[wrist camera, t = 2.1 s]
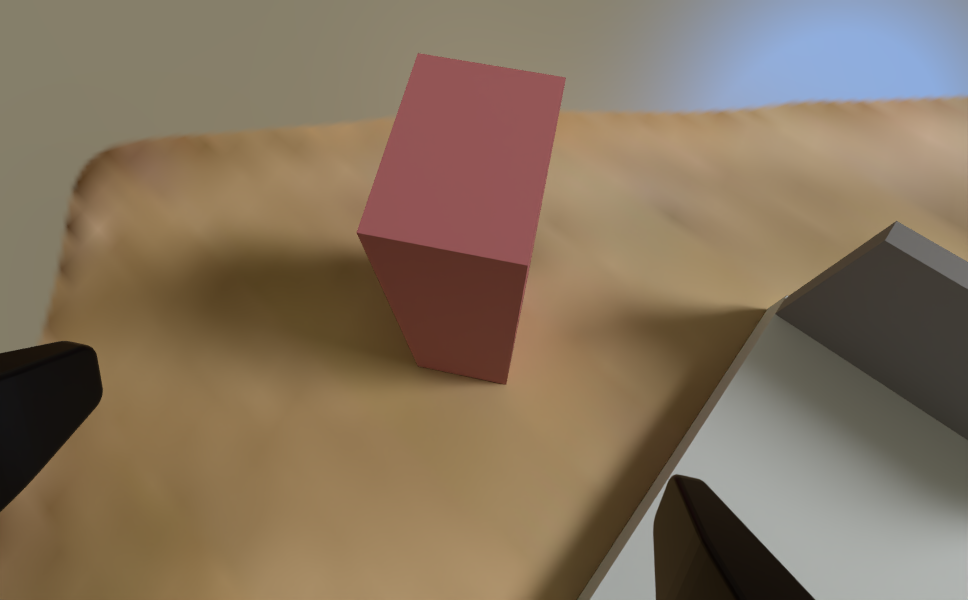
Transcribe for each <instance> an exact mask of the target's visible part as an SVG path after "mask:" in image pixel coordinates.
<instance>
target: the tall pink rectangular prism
mask: <svg viewBox="0 0 968 600" xmlns="http://www.w3.org/2000/svg"><path fill="white" fill-rule="evenodd" d="M565 79H566V78H565V77H559V76H553V75H546V74H541V73H535V72H528V71H523V70H516V69H510V68H504V67H498V66H492V65H486V64H480V63H474V62H468V61H462V60H456V59H450V58H444V57H438V56H431V55H425V54H419V53H418V54H417V58H416V60H415V64H414V67H413V69H412V72H411V75H410V78H409V81H408V84H407V87H406V90H405V93H404V95H403V99H402V102H401V104H400V107H399V110H398V113H397V116H396V119H395V122H394V125H393V128H392V131H391V134H390V136H389V139H388V142H387V145H386V148H385V151H384V154H383V157H382V160H381V163H380V166H379V169H378V172H377V175H376V177H375V180H374V183H373V186H372V189H371V192H370V195H369V198H368V201H367V204H366V207H365V210H364V213H363V216H362V218H361V221H360V224H359V227H358V230H357V234H358V237H359V239H360V241H361V243H362V245H363V248H364V250H365V252H366V254H367V256H368V258H369V261H370V263H371V265H372V267H373V269H374V271H375V274H376V276H377V278H378V280H379V282H380V285H381V287H382V289H383V291H384V293H385V295H386V298H387V300H388V302H389V304H390V306H391V309H392V311H393V313H394V315H395V317H396V319H397V322H398V324H399V326H400V328H401V330H402V333H403V335H404V337H405V339H406V341H407V343H408V346H409V348H410V350H411V352H412V354H413V357H414V359H415V361H416V363H417V365H418V366H420V367H425V368H430V369H434V370H439V371H444V372H449V373H453V374H458V375H463V376H468V377H472V378H477V379H482V380H487V381H491V382H496V383H501V384H506V383H507V378H508V373H509V368H510V363H511V358H512V353H513V348H514V343H515V338H516V333H517V328H518V323H519V318H520V313H521V308H522V303H523V298H524V293H525V288H526V283H527V278H528V273H529V267H530V262H531V257H532V252H533V246H534V241H535V236H536V231H537V226H538V220H539V215H540V210H541V205H542V199H543V194H544V189H545V184H546V179H547V173H548V168H549V163H550V158H551V153H552V147H553V142H554V137H555V132H556V126H557V121H558V116H559V111H560V106H561V100H562V95H563V90H564V85H565Z"/></svg>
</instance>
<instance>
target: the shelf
mask: <svg viewBox="0 0 968 600" xmlns="http://www.w3.org/2000/svg"><path fill="white" fill-rule="evenodd" d="M675 474H679V475H684V476H688V477H693V478H697V479H700V480H702V481H704V482H705V483H706V484H707V485H708V486H709V487H710V488H711V489H712V490H713V491H714V493H715V494H716V495H717V496H718V497H719V498H720V499H721V500H722V501H723V502H724V503H725V504H726V505H727V506H728V507H729V508H730V509H731V511H732V512H733V513H734V514H735V515H736V516H737V517H738V518H739V519H740V520H741V521H742V522H743V523H744V524H745V525H746V526H747V527H748V529H749V530H750V531H751V532H752V533H753V534H754V535H755V536H756V537H757V538H758V539H759V540H760V541H761V542H762V543H763V544H764V546H765V547H766V548H767V549H768V550H769V551H770V552H771V553H772V554H773V555H774V556H775V557H776V558H777V559H778V560H779V561H780V562H781V564H782V565H783V566H784V567H785V568H786V569H787V570H788V571H789V572H790V573H791V574H792V575H793V576H794V577H795V578H796V579H797V580H798V582H799V583H800V584H801V585H802V586H803V587H804V588H805V589H806V590H807V591H808V592H809V593H810V594H811V595H812V596H813V597H814V599H815V600H968V262H967V261H965V260H963V259H962V258H960V257H958V256H956V255H955V254H953V253H951V252H949V251H948V250H946V249H944V248H942V247H941V246H939V245H937V244H936V243H934V242H932V241H930V240H929V239H927V238H925V237H923V236H922V235H920V234H918V233H916V232H915V231H913V230H911V229H910V228H908V227H906V226H904V225H903V224H901V223H899V222H897V221H896V222H894V223H893V224H892V225H890V226H889V227H887V228H886V229H884V230H883V231H881V232H880V233H879V234H877V235H876V236H874V237H873V238H871V239H870V240H869V241H867V242H866V243H864V244H863V245H861V246H860V247H858V248H857V249H856V250H854V251H853V252H851V253H850V254H848V255H847V256H846V257H844V258H843V259H841V260H840V261H838V262H837V263H835V264H834V265H833V266H831V267H830V268H828V269H827V270H825V271H824V272H823V273H821V274H820V275H818V276H817V277H815V278H814V279H812V280H811V281H810V282H808V283H807V284H805V285H804V286H802V287H801V288H800V289H798V290H797V291H795V292H794V293H792V294H791V295H789V296H785V297H784V298H782V299H781V300H779V301H778V302H777V303H775V304H774V305H772V306H771V307H769V308H768V309H767V311H766V312H765V314H764V315H763V317H762V318H761V320H760V321H759V323H758V324H757V326H756V327H755V329H754V330H753V332H752V334H751V335H750V337H749V338H748V340H747V341H746V343H745V344H744V346H743V347H742V349H741V350H740V352H739V353H738V355H737V356H736V358H735V359H734V361H733V363H732V364H731V366H730V367H729V369H728V370H727V372H726V373H725V375H724V376H723V378H722V379H721V381H720V382H719V384H718V385H717V387H716V388H715V390H714V392H713V393H712V395H711V396H710V398H709V399H708V401H707V402H706V404H705V405H704V407H703V408H702V410H701V411H700V413H699V414H698V416H697V418H696V419H695V421H694V422H693V424H692V425H691V427H690V428H689V430H688V431H687V433H686V434H685V436H684V437H683V439H682V440H681V442H680V443H679V445H678V447H677V448H676V450H675V451H674V453H673V454H672V456H671V457H670V459H669V460H668V462H667V463H666V465H665V466H664V468H663V469H662V471H661V472H660V474H659V476H658V477H657V479H656V480H655V482H654V483H653V485H652V486H651V488H650V489H649V491H648V492H647V494H646V495H645V497H644V498H643V500H642V501H641V503H640V505H639V506H638V508H637V509H636V511H635V512H634V514H633V515H632V517H631V518H630V520H629V521H628V523H627V524H626V526H625V527H624V529H623V530H622V532H621V534H620V535H619V537H618V538H617V540H616V541H615V543H614V544H613V546H612V547H611V549H610V550H609V552H608V553H607V555H606V556H605V558H604V559H603V561H602V563H601V564H600V566H599V567H598V569H597V570H596V572H595V573H594V575H593V576H592V578H591V579H590V581H589V582H588V584H587V585H586V587H585V588H584V590H583V592H582V593H581V595H580V596H579V598H578V599H577V600H656V592H655V568H654V544H653V524H654V518H655V514H656V512H657V509H658V506H659V504H660V501H661V499H662V496H663V493H664V491H665V488H666V485H667V483H668V481H669V479H670V478H671V476H673V475H675Z"/></svg>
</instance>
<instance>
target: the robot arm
mask: <svg viewBox="0 0 968 600" xmlns="http://www.w3.org/2000/svg"><path fill="white" fill-rule="evenodd" d="M102 393H103V387H102V381H101V376H100V370H99V364H98V359H97V354H96V352H95V351H94V349H93V348H92V347H90V346H88V345H84V344H79V343H75V342H70V341H59V342H54V343H49V344H44V345H39V346H34V347H30V348H25V349H20V350H15V351H10V352H5V353H0V512H1V511H2V510H3V509H4V508H5V507H6V506H7V505H8V504H9V503H10V502H11V501H12V500H13V499H14V498H15V497H16V496H17V495H18V494H19V493H20V492H21V491H22V490H23V489H24V488H25V487H26V486H27V485H28V484H29V483H30V482H31V481H32V480H33V479H34V477H35V476H36V475H37V474H38V473H39V472H40V471H41V470H42V468H43V467H44V466H45V465H46V464H47V463H48V462H49V460H50V459H51V458H52V457H53V456H54V455H55V454H56V452H57V451H58V450H59V449H60V448H61V447H62V446H63V444H64V443H65V442H66V441H67V440H68V439H69V438H70V436H71V435H72V434H73V433H74V432H75V431H76V430H77V428H78V427H79V426H80V425H81V424H82V423H83V422H84V420H85V419H86V418H87V417H88V416H89V415H90V414H91V412H92V411H93V410H94V409H95V408H96V407H97V405H98V404H99V402H100V400H101V397H102ZM653 544H654V568H655V592H656V600H815V599H814V597H813V596H812V595H811V594H810V593H809V592H808V591H807V590H806V589H805V588H804V587H803V586H802V585H801V584H800V583H799V582H798V580H797V579H796V578H795V577H794V576H793V575H792V574H791V573H790V572H789V571H788V570H787V569H786V568H785V567H784V566H783V565H782V564H781V562H780V561H779V560H778V559H777V558H776V557H775V556H774V555H773V554H772V553H771V552H770V551H769V550H768V549H767V548H766V547H765V546H764V544H763V543H762V542H761V541H760V540H759V539H758V538H757V537H756V536H755V535H754V534H753V533H752V532H751V531H750V530H749V529H748V527H747V526H746V525H745V524H744V523H743V522H742V521H741V520H740V519H739V518H738V517H737V516H736V515H735V514H734V513H733V512H732V511H731V509H730V508H729V507H728V506H727V505H726V504H725V503H724V502H723V501H722V500H721V499H720V498H719V497H718V496H717V495H716V494H715V493H714V491H713V490H712V489H711V488H710V487H709V486H708V485H707V484H706V483H705V482H704V481H702V480H700V479H697V478H693V477H688V476H684V475H679V474H675V475H673V476H671V478H670V479H669V481H668V483H667V485H666V488H665V491H664V493H663V496H662V499H661V501H660V504H659V506H658V509H657V512H656V514H655V518H654V524H653Z"/></svg>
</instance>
